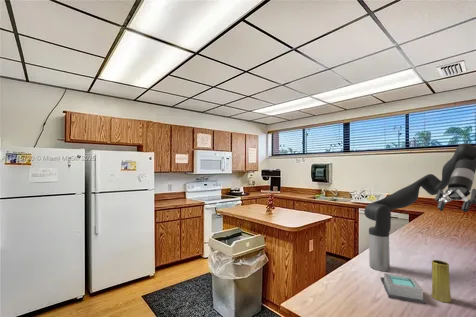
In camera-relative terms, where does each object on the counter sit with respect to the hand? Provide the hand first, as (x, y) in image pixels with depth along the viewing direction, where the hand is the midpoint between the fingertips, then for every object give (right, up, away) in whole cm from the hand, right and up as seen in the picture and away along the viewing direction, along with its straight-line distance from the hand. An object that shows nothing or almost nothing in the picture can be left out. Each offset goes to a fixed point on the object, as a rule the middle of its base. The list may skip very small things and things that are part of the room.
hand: (451, 210), depth 101 cm
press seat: (-23, -31, -2) cm, 39 cm away
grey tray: (-22, -34, 0) cm, 41 cm away
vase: (-10, -34, -6) cm, 36 cm away
